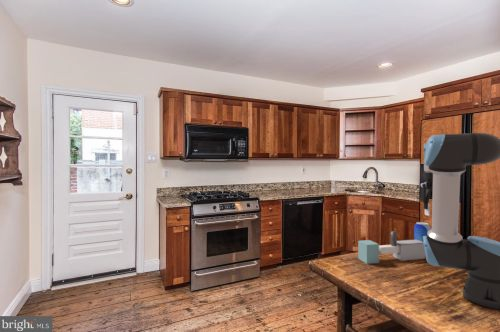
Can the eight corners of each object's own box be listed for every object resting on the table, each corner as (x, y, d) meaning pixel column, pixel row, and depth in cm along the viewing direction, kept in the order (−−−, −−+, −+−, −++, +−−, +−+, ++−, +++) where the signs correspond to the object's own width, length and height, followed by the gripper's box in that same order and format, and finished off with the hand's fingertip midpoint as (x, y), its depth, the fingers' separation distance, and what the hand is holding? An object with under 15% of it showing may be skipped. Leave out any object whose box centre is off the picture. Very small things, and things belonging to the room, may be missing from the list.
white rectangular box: (425, 258, 150) (425, 242, 150) (401, 260, 148) (401, 244, 148) (416, 254, 157) (415, 239, 157) (393, 256, 154) (392, 240, 154)
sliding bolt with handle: (420, 251, 151) (420, 231, 151) (381, 254, 147) (381, 233, 147) (415, 249, 155) (415, 229, 155) (377, 252, 151) (376, 231, 151)
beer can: (411, 248, 168) (411, 222, 168) (420, 246, 172) (419, 221, 172) (425, 252, 161) (424, 225, 160) (433, 250, 164) (433, 223, 164)
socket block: (378, 262, 145) (378, 244, 144) (366, 263, 143) (366, 244, 143) (369, 257, 152) (369, 240, 152) (358, 258, 151) (358, 240, 151)
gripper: (441, 171, 152) (441, 212, 152) (411, 172, 148) (411, 214, 149) (453, 171, 144) (453, 215, 144) (422, 172, 141) (422, 217, 141)
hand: (432, 214), depth 147 cm, fingers open, 6 cm apart
